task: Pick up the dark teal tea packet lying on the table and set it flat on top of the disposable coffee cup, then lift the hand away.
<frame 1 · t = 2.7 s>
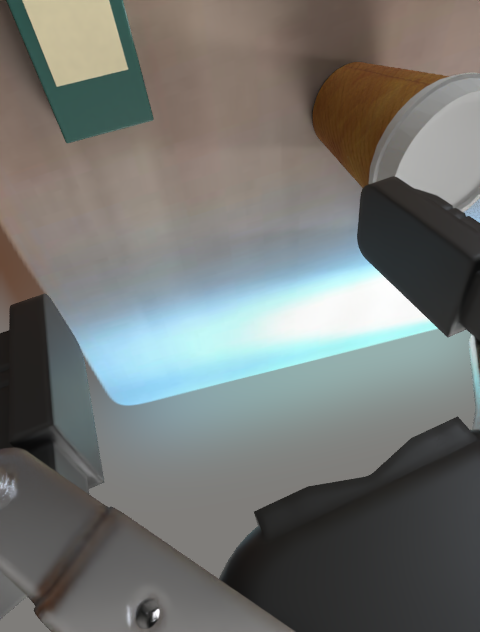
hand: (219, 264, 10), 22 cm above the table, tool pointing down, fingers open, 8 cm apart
tea packet: (65, 3, 23), on the table
disposable coffee cup: (346, 106, 34), on the table
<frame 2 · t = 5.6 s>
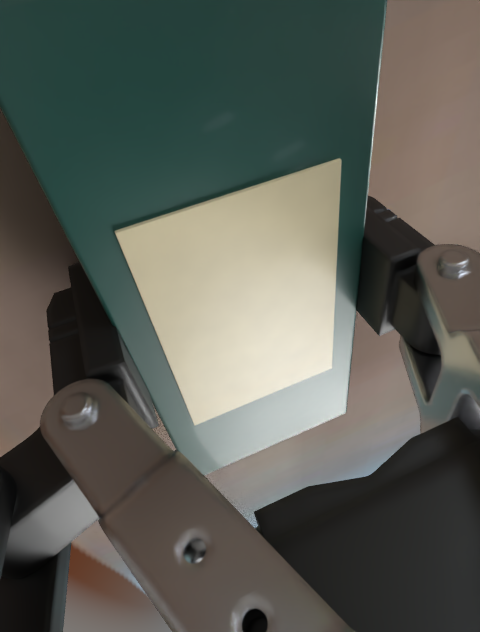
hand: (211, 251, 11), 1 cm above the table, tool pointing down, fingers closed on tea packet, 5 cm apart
tea packet: (206, 240, 11), on the table, touching gripper
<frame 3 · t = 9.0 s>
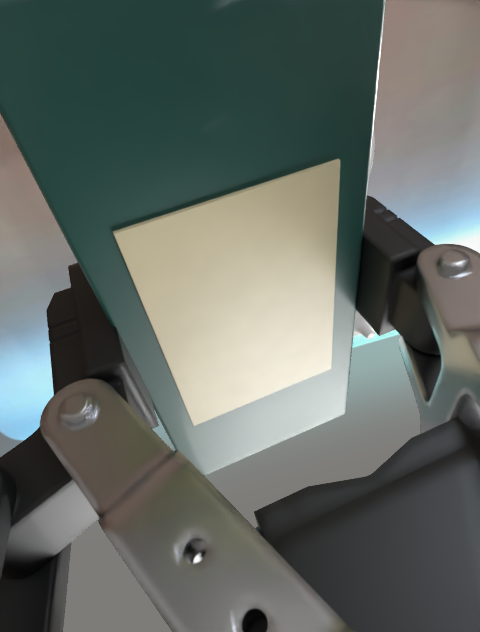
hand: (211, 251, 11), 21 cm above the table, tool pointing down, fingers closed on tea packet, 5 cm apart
tea packet: (205, 241, 11), point 20 cm above the table, touching gripper
eye dropper bottle: (298, 254, 42), on the table
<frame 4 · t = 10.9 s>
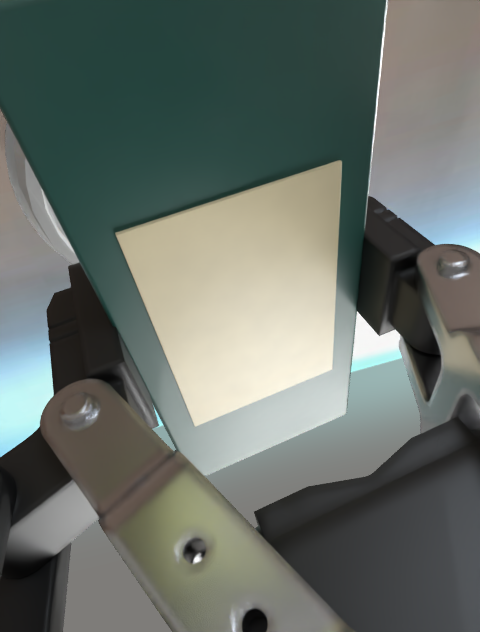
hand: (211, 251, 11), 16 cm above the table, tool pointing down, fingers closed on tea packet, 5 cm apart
tea packet: (206, 241, 11), point 15 cm above the table, touching gripper
disposable coffee cup: (113, 84, 22), on the table
when the fingers open (12 cm above the table, at t = 12.3 s): tea packet stays where it is, resting on disposable coffee cup.
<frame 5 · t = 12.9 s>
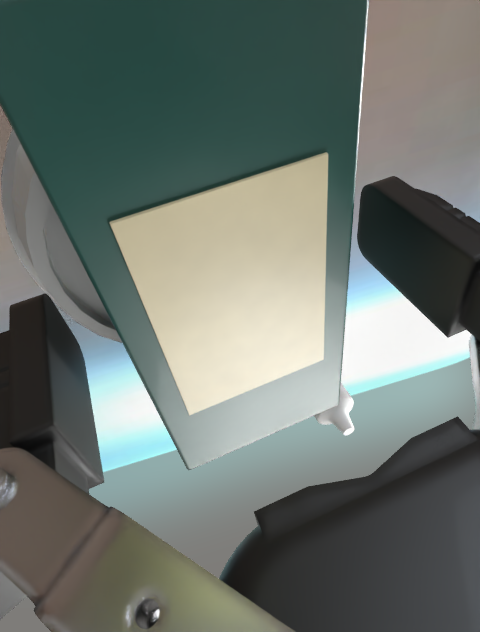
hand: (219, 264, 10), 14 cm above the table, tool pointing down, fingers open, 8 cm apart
tea packet: (200, 235, 12), point 12 cm above the table, touching disposable coffee cup
eye dropper bottle: (261, 298, 32), on the table
disposable coffee cup: (121, 102, 20), on the table, touching tea packet
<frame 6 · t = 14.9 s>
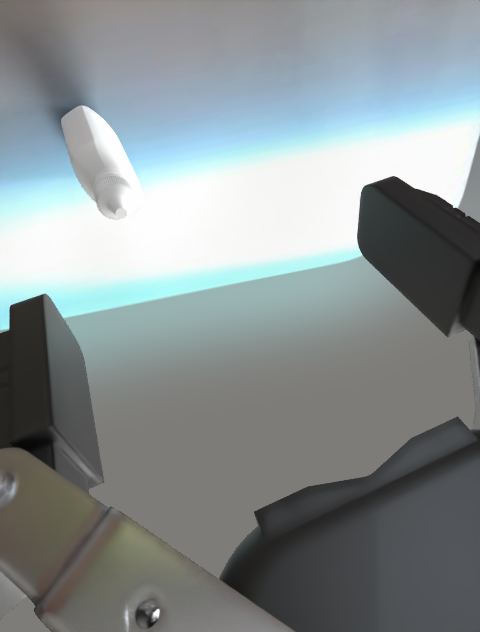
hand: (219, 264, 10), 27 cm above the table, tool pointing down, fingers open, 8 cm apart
eye dropper bottle: (94, 140, 33), on the table
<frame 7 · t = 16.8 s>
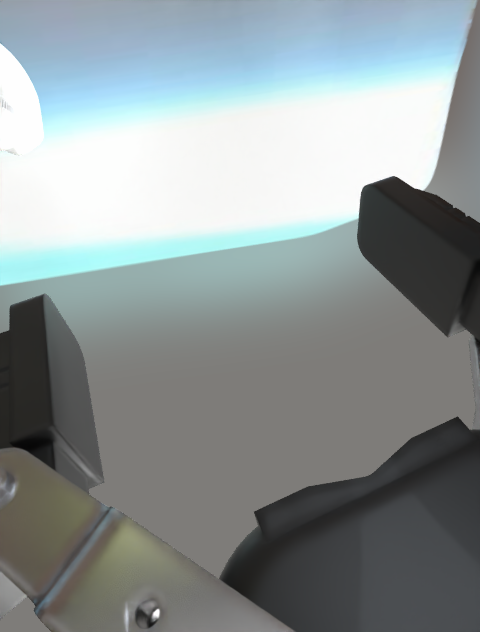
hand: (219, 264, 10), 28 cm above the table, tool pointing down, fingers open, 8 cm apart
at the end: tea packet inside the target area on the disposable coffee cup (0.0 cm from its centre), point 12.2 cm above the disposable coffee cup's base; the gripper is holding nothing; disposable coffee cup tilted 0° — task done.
